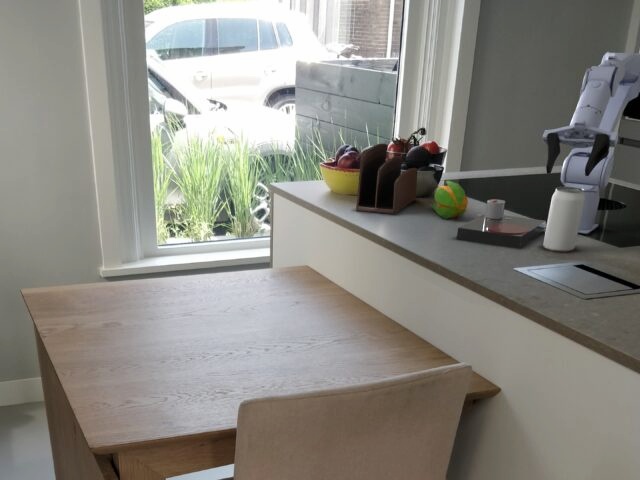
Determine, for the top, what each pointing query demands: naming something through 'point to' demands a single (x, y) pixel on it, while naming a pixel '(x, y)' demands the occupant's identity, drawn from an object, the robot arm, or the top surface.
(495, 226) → the burner ring
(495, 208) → the knob
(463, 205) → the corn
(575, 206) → the can
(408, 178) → the letter holder
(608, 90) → the robot arm
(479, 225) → the hob
